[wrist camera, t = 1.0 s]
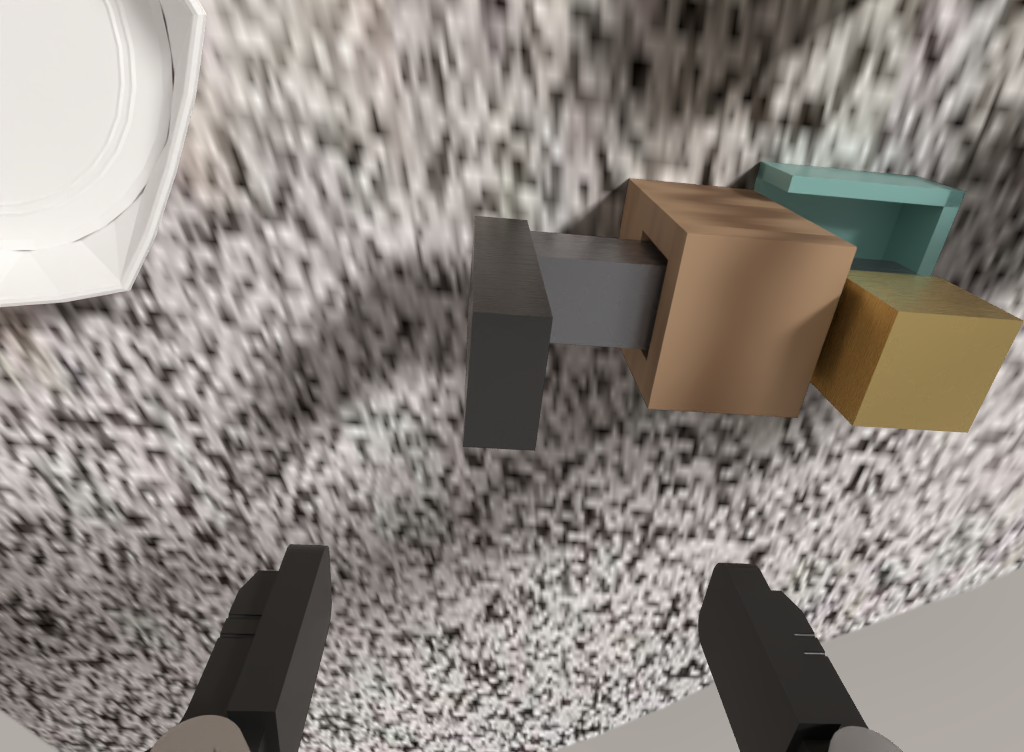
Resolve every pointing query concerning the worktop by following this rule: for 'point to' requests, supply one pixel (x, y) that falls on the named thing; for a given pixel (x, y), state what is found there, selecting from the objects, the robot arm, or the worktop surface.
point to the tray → (869, 209)
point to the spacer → (911, 352)
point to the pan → (89, 139)
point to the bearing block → (733, 298)
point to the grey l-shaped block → (553, 315)
